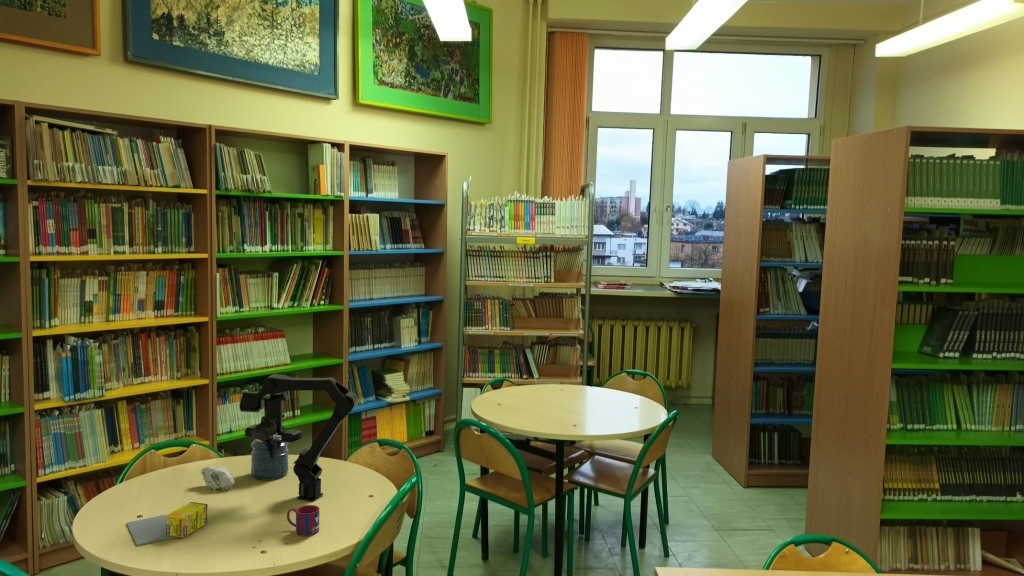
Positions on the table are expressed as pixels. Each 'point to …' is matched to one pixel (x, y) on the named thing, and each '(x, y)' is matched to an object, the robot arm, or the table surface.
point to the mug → (306, 520)
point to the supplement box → (186, 519)
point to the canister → (268, 461)
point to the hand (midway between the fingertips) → (272, 458)
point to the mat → (149, 530)
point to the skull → (217, 477)
